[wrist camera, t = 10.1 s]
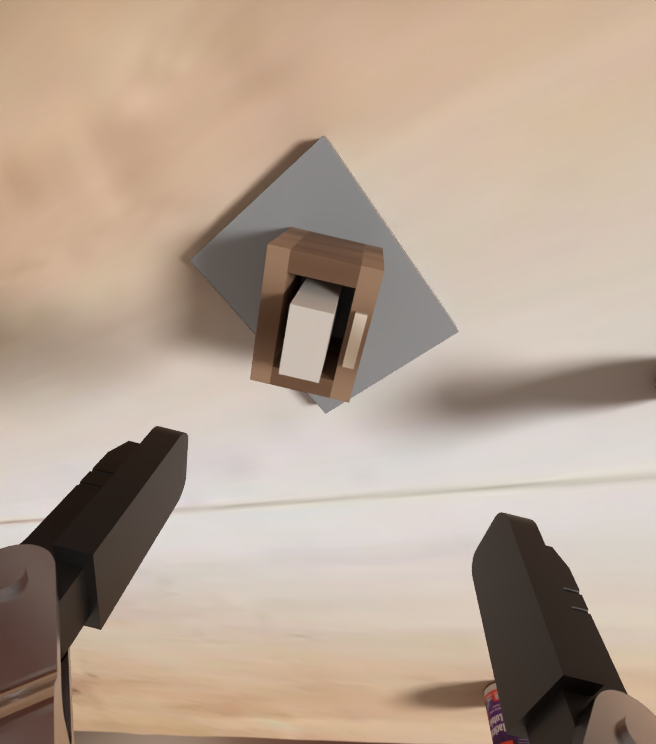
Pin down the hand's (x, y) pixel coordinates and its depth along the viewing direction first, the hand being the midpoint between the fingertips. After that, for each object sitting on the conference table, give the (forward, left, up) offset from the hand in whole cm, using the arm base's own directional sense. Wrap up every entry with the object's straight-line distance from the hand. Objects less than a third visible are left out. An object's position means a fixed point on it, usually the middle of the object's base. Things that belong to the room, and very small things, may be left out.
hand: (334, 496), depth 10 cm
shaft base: (+2, -2, -19) cm, 19 cm away
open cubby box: (+2, -2, -17) cm, 18 cm away
